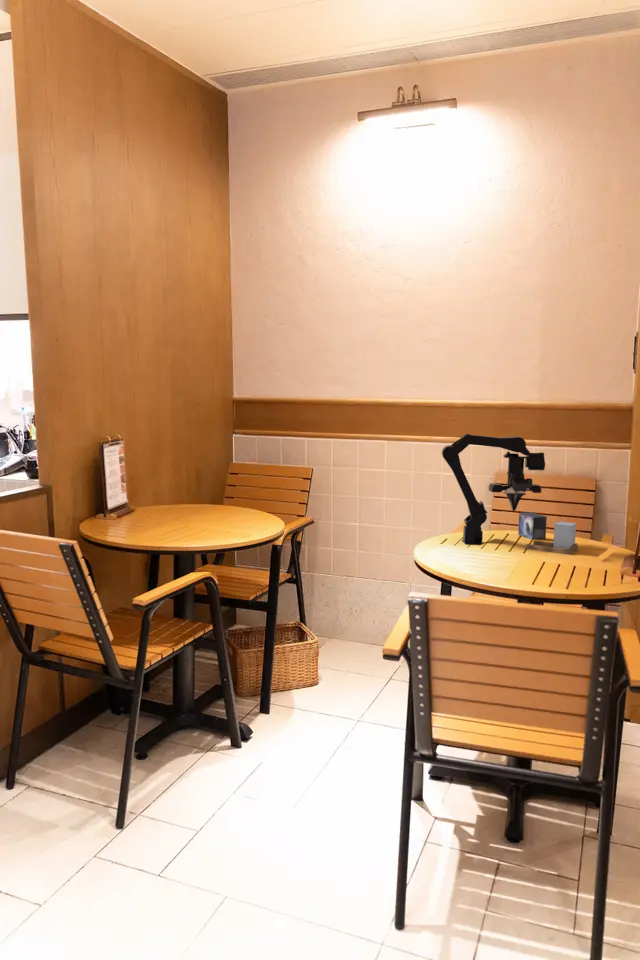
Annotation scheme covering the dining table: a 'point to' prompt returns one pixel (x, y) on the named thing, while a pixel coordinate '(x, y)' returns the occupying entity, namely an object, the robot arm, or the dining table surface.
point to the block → (564, 535)
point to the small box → (532, 526)
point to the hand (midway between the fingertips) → (513, 510)
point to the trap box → (550, 547)
